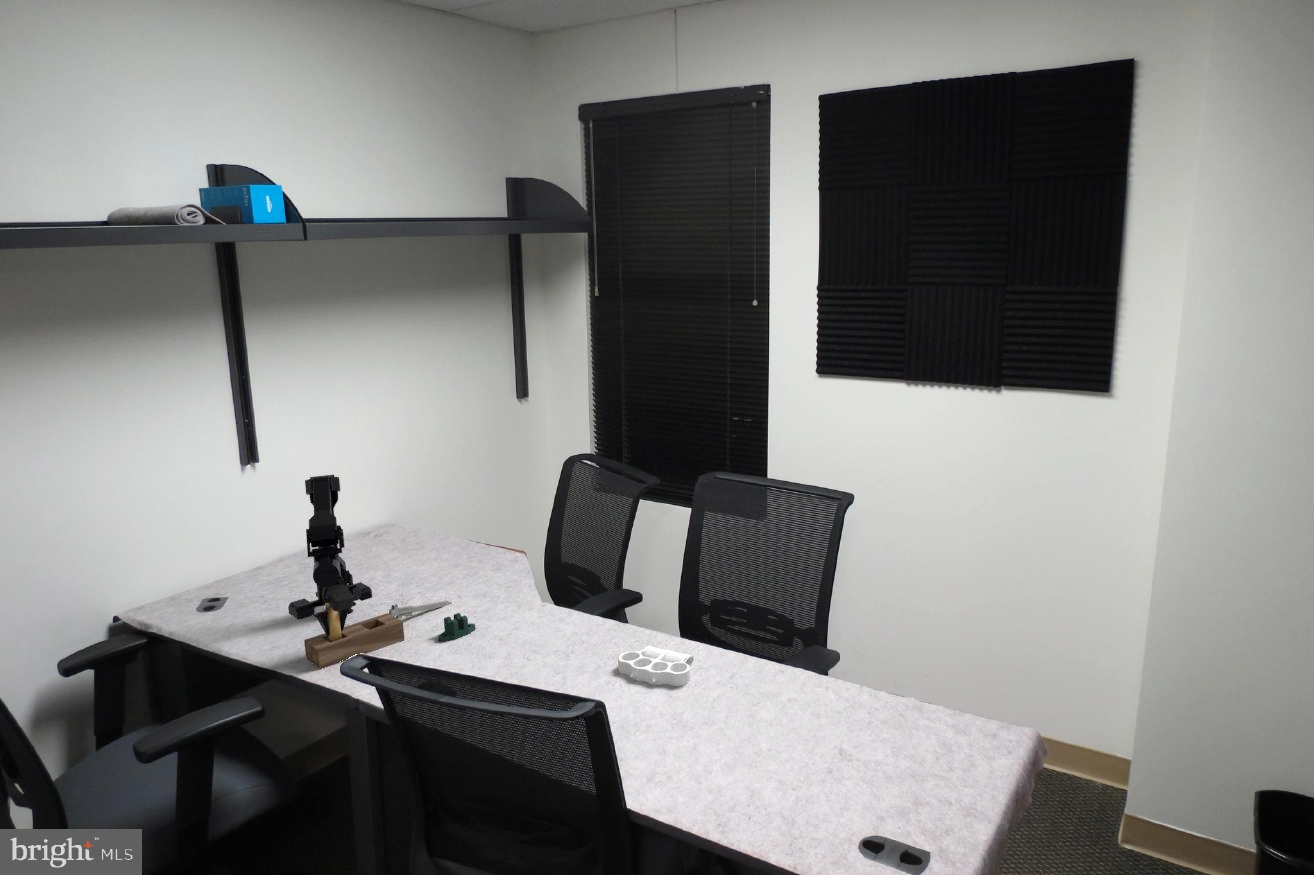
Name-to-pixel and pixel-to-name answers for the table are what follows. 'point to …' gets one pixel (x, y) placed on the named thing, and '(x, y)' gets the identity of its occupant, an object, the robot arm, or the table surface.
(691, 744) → the table surface
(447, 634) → the mount
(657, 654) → the white brass knuckles
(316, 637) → the hole block
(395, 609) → the caliper
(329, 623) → the peg
